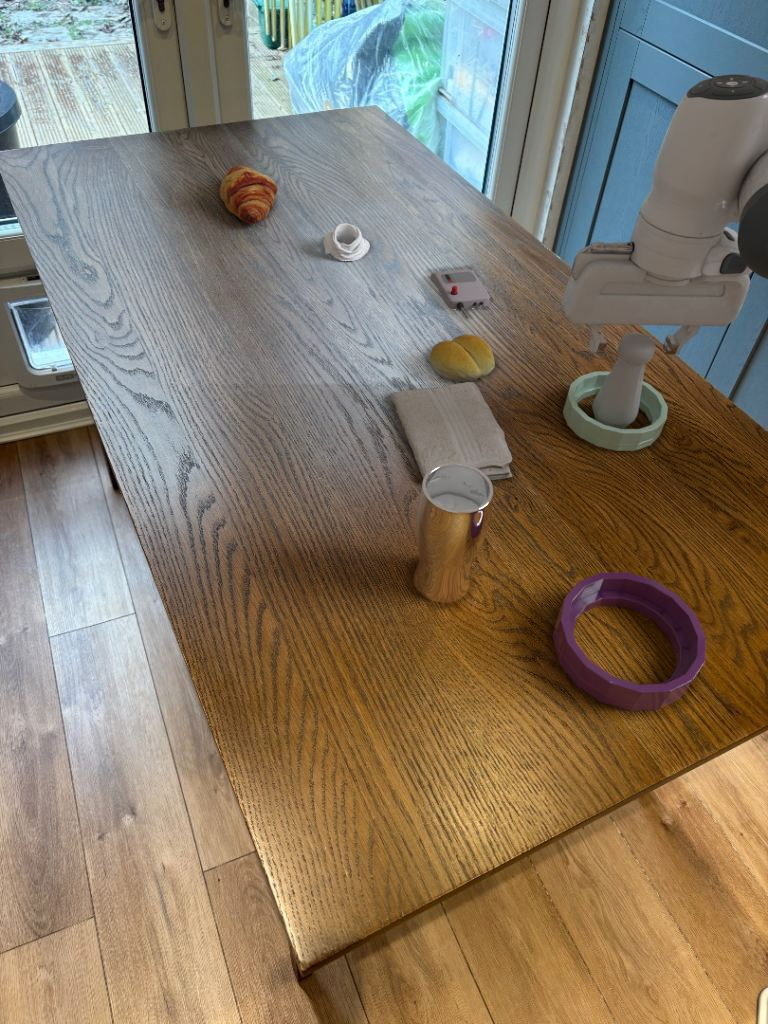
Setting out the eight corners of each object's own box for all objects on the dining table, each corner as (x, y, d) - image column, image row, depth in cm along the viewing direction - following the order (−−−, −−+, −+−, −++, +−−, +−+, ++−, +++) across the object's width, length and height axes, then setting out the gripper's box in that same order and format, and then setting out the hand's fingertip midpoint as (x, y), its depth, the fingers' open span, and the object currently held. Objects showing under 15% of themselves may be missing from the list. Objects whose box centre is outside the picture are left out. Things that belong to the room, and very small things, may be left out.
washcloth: (424, 497, 88) (427, 479, 86) (385, 403, 100) (387, 384, 98) (518, 483, 91) (523, 464, 89) (469, 392, 102) (472, 374, 100)
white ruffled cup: (363, 246, 130) (366, 218, 127) (374, 262, 126) (376, 233, 122) (318, 247, 128) (320, 218, 125) (327, 263, 124) (328, 233, 120)
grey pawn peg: (636, 438, 97) (669, 354, 88) (593, 436, 97) (621, 352, 88) (626, 409, 101) (657, 326, 92) (584, 407, 101) (610, 324, 92)
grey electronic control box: (465, 268, 125) (467, 252, 123) (498, 320, 115) (501, 303, 113) (427, 272, 124) (429, 255, 122) (457, 324, 114) (460, 307, 112)
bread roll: (418, 359, 107) (421, 335, 104) (470, 344, 110) (474, 320, 107) (450, 392, 102) (453, 367, 99) (503, 374, 106) (508, 351, 103)
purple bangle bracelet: (662, 596, 80) (677, 570, 77) (709, 713, 71) (728, 688, 68) (538, 600, 79) (547, 574, 76) (570, 719, 70) (582, 694, 66)
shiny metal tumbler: (420, 553, 82) (434, 452, 71) (480, 573, 81) (504, 473, 70) (398, 600, 78) (409, 500, 67) (461, 622, 76) (484, 523, 65)
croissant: (229, 198, 146) (205, 162, 140) (273, 171, 144) (251, 133, 138) (241, 249, 131) (215, 211, 126) (291, 220, 130) (267, 180, 124)
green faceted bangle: (640, 394, 104) (649, 371, 101) (670, 456, 96) (681, 432, 93) (552, 395, 103) (558, 371, 100) (574, 457, 95) (582, 433, 92)
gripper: (587, 256, 78) (555, 366, 88) (772, 261, 80) (721, 367, 90) (572, 227, 82) (543, 335, 92) (748, 232, 84) (702, 337, 94)
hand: (633, 351), depth 91 cm, fingers open, 8 cm apart
